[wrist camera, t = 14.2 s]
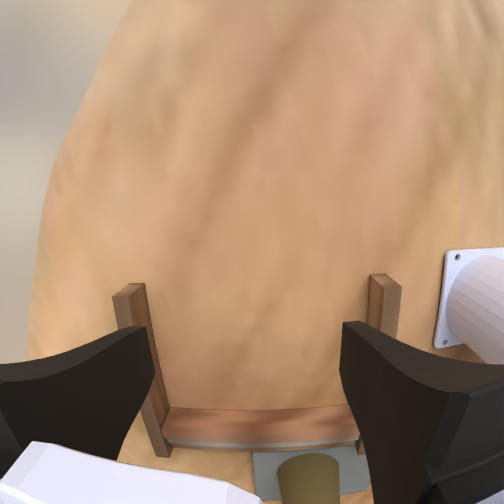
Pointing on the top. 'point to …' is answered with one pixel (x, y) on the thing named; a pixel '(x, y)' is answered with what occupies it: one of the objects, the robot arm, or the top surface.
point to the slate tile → (267, 463)
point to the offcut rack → (250, 421)
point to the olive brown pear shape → (309, 479)
